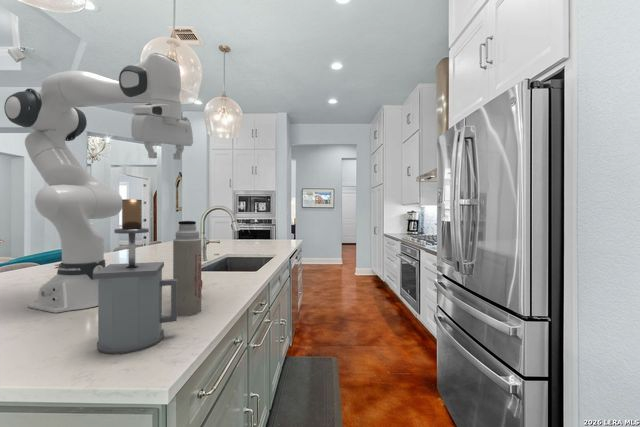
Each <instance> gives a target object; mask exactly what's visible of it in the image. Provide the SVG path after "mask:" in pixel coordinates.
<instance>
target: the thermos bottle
mask: <svg viewBox="0 0 640 427" xmlns="http://www.w3.org/2000/svg"><path fill="white" fill-rule="evenodd" d="M196 224H197V221H193V220H182V221H178V230H177V231H176V232H175V238H174V239H173V241H172V246H173V247H172V250H173V251H172V266H173V267H172V269H173V271H172V273H173V274H172V279H177V317H189V316H193V315H197V314H199V313H200V312H201V311H202V289H201V280H202V238H200V232H199V231H198V230H197V225H196Z"/></svg>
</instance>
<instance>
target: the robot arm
mask: <svg viewBox="0 0 640 427" xmlns="http://www.w3.org/2000/svg"><path fill="white" fill-rule="evenodd" d="M181 90H182V80H181V69H180V66H179V63H178V62H177V60H175V59H174V58H172V57H170V56H168V55H164V54H162V53H158V52H153V53H149V55H148V56H147V57H146V59H145V60H143V61H141V62H139V63H136V64H133V65H130V64H128V65H126V66H124V67H123V68H122V69H121V70H120V73H119V76H118V80H116V79H112V78H108V77H106V76H102V75H100V74H97V73H94V72H90V71H85V70H65V71H60V72H57V73H53V74H51V75H49V76H47V77H45V78H44V79H43V80H42V83H41V89H40V90H38V91H36V90H35V89H34V88H26V89H25V90H24V91H17V92H14V93H13V94H11V95H8V97H7V98H6V100H5V101H4V113H5V116H6V117H7V119H8V120H9V121H10V122H11V123H13V124H15V125H18V126H19V127H23V128H26V129H28V128H29V129H33V130H34V131H32V132H30V133H29V134H27V135H26V137H25V139H24V147H25V149H26V151H27V154H28V157H29V158H30V160H31V162H32V163H33V166H34V167H35V168H36V170H37V171H38V173H39V175H40V176H41V177H42V179H43V180H44V182H45V183H46V184H48V185H45V186H44V187H42V188H41V189H39V191H37V193H36V195H35V198H34V206H35V208H36V210H37V212H38V214H40V215H41V216H42V217H44V218H46V219H47V220H48V221H50V222H51V223H52V224H53V226H54V228H55V229H56V230H57V233H58V235H59V239H60V245H61V246H60V248H61V249H60V250H61V262H60V263H58V264H54V266H55V267H54V269H57V272H56V275H54V276H53V277H52V278H51V279H49V280H48V281H47V282H45V283H44V284H42V285H41V286H40V288H39V289H38V290H39V291H38V299H37V300H35V301H32V302H29V303H28V304H27V305H28V306H27V307H28V308H29V309H30V308H31V309H36V310H38V311H39V310H40V311H45V312H49V313H53V314H55V313H56V314H57V313H62V312H63V313H64V312H68V311H74V310H75V311H76V310H85V309H89V308H93V307H97V306H98V279H93V273H95V272H97V271H98V270H100V269H102V268H104V267H106V266H107V264H106V260H105V256H104V254H105V251H104V245H105V243H104V242H105V241H104V237H103V235H102V234H101V233H99V232H97V231H95V230H94V229H93V227H92V226H91V224H90V220H102V219H107V218H112V217H115V216H118V214H120V213H121V212H122V199H123V198H122V196H121V194H120V193H119V192H118V191H117V190H114V189H112V188H110V187H108V186H106V185H105V184H103V183H102V182H100V181H99V180H98V179H96V178H95V177H94V176H93V175H91V174H90V173H89V172H88V171H87V170H86V169H85V168H84V167H83V166H82V165H81V164H80V161H78V159H77V158H76V157H75V155H74V154H73V152H72V151H71V150H70V148H69V146H68V145H67V143H66V142H70V141H74V140H75V139H76V138H77V137H79V136H80V135H81V134H82V133H84V132H85V129H86V128H87V125H88V124H87V117H86V114H85V113H84V112H83V111H82V110H80V109H79V108H86V107H87V108H88V107H96V106H104V105H105V106H106V105H116V104H127V103H128V104H132V103H133V104H134V103H135V104H139V105H134V106H132V109H131V111H132V113H133V114H134V115H133V116H132V118H131V124H130V126H131V127H130V128H131V129H130V131H131V137H132V139H133V140H134V141H136V142H144V148H145V150H146V151H147V158H148V159H157V158H158V153H157V152H155V150H154V148H153V147H154V146H155V144H165V145H173V146H174V145H175V149H176V151H175V153H173V155H172V156H173V160H179V161H180V160H182V154H183V153H184V150H185V147H191V146H192V145H193V143H194V137H193V135H194V134H193V129H192V125H191V121H190V119H189V118H188V117H186V116H182V102H181V97H180V95H181ZM142 103H143V104H142ZM144 103H145V104H144Z"/></svg>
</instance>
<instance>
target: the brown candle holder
mask: <svg viewBox="0 0 640 427" xmlns="http://www.w3.org/2000/svg"><path fill="white" fill-rule="evenodd" d="M142 201H143V200H142V199H135V198H134V199H132V198H131V199H128V198H127V199H126V198H125V199H123V198H122V209H121V228H115V229H113V230H114V234H119V235H120V234H122V235H123V234H125V235H126V234H128V263H129V268H135V263H136V234H145V233H146V234H147V233H149V230H150V229H149V228H147V227H145V228H144V227H143V226H142V225H143V220H142V218H143V217H142V216H143V214H142V213H143V212H142V211H143V210H142V209H143V208H142V207H143V206H142V205H143V204H142V203H143V202H142ZM142 227H143V228H142Z"/></svg>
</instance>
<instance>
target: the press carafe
mask: <svg viewBox="0 0 640 427" xmlns="http://www.w3.org/2000/svg"><path fill="white" fill-rule="evenodd" d="M164 267H165V262H164V261H156V262H135V268H129V262H127V263H112V264H110V263H109V264H108V265H105V267H104V268H102V269H100V270H98V271H97V272H95V273H93V279H98V307H97V310H98V312H97V314H98V315H97V317H98V318H97V321H98V323H97V326H98V327H97V330H98V331H97V334H98V335H97V336H98V337H97V342H96V350H97V351H98V352H99V353H102V354H106V355H122V354H123V355H124V354H130V353H134V352H135V353H136V352H139V351H143V350H146V349H149V348H151V347H154V346H155V345H157V344H158V343H160V342H161V341H163V339H164V336H165V335H164V329H163V328H162V327H163V323H173V322H177V321H178V316H177V279H173V278H171V279H170V278H169V279H163V268H164ZM165 286H167V287H168V286H170V314H167V315H163V299H162V298H163V291H162V290H163V287H165Z"/></svg>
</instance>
